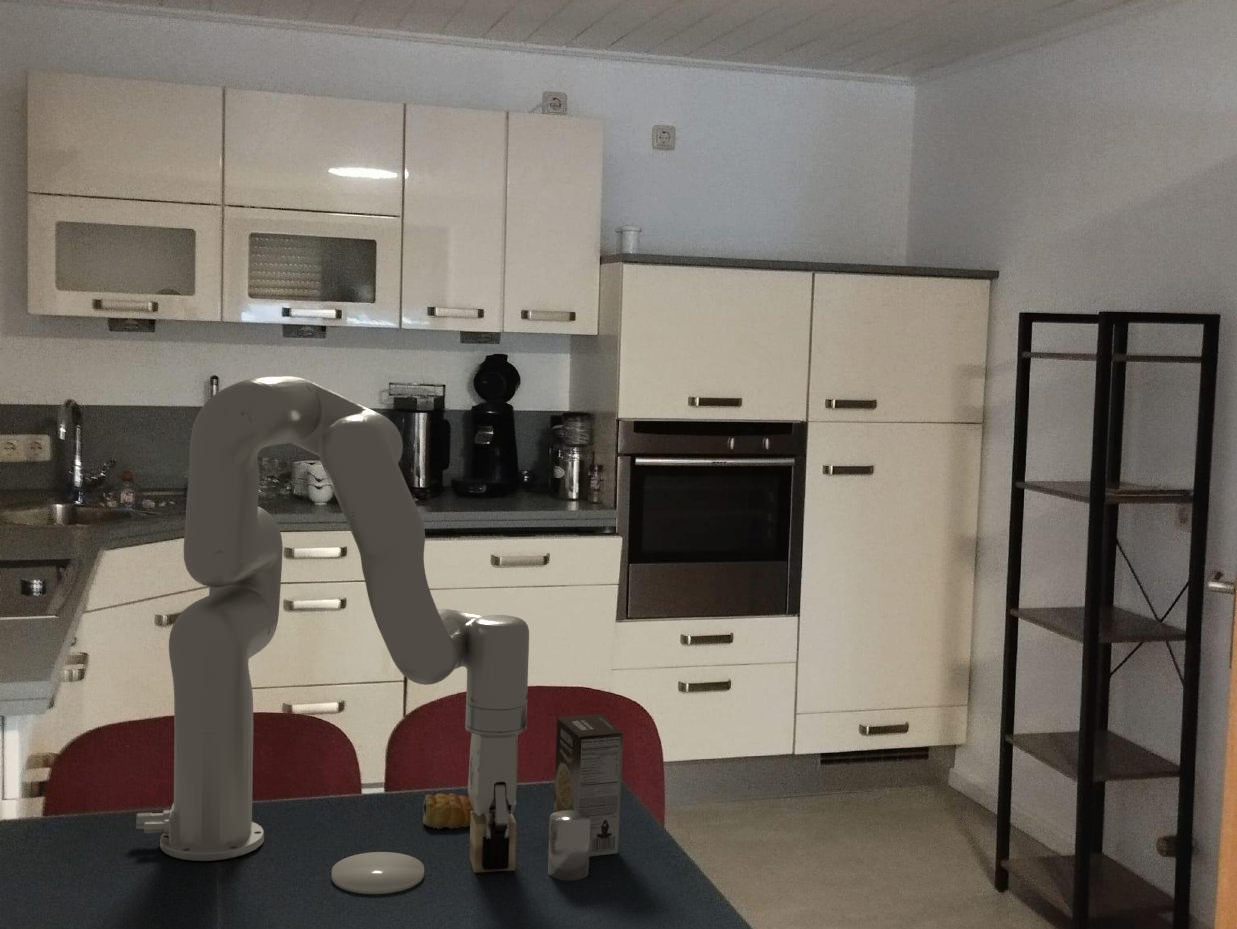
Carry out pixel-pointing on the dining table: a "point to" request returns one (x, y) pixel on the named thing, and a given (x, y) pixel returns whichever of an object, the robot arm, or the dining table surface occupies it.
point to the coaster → (377, 873)
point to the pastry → (447, 811)
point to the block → (477, 841)
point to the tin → (569, 845)
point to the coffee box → (590, 776)
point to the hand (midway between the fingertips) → (492, 858)
